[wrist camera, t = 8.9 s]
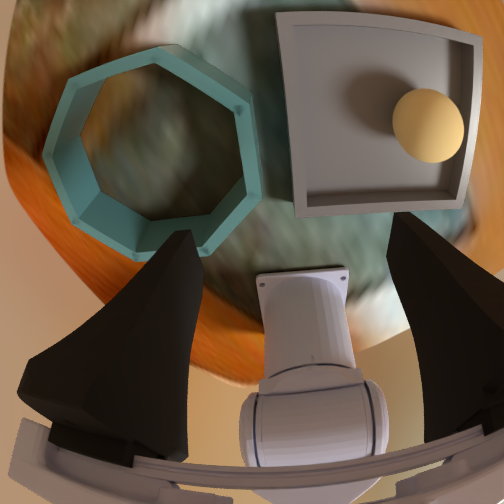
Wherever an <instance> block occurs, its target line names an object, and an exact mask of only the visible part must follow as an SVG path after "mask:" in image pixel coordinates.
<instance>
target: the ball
mask: <svg viewBox="0 0 504 504" xmlns="http://www.w3.org/2000/svg"><path fill="white" fill-rule="evenodd" d="M392 123H393V130H394V133H395V136H396V139H397V140H398V142H399V144H400V145H401V147H402V148H403V149H404V150H405V151H406V152H407V153H408V154H409V155H411V156H412V157H414V158H416V159H417V160H420V161H423V162H428V163H438V162H442V161H445V160H447V159H449V158H450V157H452V156H453V155H454V154H455V153H456V152H457V151H458V149H459V147H460V146H461V143H462V140H463V136H464V125H463V120H462V117H461V114H460V112H459V110H458V108H457V107H456V105H455V104H454V103H453V102H452V101H451V100H450V99H449V98H448V97H447V96H445V95H444V94H442V93H440V92H438V91H436V90H433V89H427V88H421V89H415V90H412V91H410V92H408V93H406V94H405V95H404V96H403V97H402V98H401V99H400V100H399V101H398V103H397V104H396V106H395V109H394V112H393V120H392Z"/></svg>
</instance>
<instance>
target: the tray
mask: <svg viewBox="0 0 504 504" xmlns="http://www.w3.org/2000/svg"><path fill="white" fill-rule="evenodd" d="M274 20H275V27H276V34H277V42H278V50H279V58H280V66H281V75H282V83H283V93H284V102H285V112H286V122H287V133H288V144H289V156H290V168H291V182H292V196H293V206H294V212H295V218H308V217H321V216H335V215H350V214H365V213H381V212H399V211H419V210H441V209H462V206H463V202H464V198H465V194H466V190H467V185H468V181H469V176H470V171H471V166H472V161H473V156H474V150H475V144H476V137H477V130H478V122H479V114H480V103H481V90H482V69H483V40H482V37H481V36H478V35H475V34H472V33H468V32H465V31H461V30H458V29H454V28H450V27H446V26H442V25H438V24H433V23H429V22H424V21H419V20H413V19H407V18H401V17H394V16H387V15H378V14H369V13H356V12H338V11H296V12H277V13H275V14H274ZM421 88H427V89H433V90H436V91H438V92H440V93H442V94H444V95H445V96H447V97H448V98H449V99H450V100H451V101H452V102H453V103H454V104H455V105H456V107H457V108H458V110H459V112H460V114H461V117H462V120H463V125H464V136H463V140H462V143H461V146H460V147H459V149H458V151H457V152H456V153H455V154H454V155H453V156H452V157H450V158H449V159H447V160H445V161H442V162H438V163H428V162H423V161H420V160H417V159H416V158H414V157H412V156H411V155H409V154H408V153H407V152H406V151H405V150H404V149H403V148H402V147H401V145H400V144H399V142H398V140H397V139H396V136H395V133H394V130H393V123H392V120H393V112H394V109H395V106H396V104H397V103H398V101H399V100H400V99H401V98H402V97H403V96H404V95H405V94H406V93H408V92H410V91H412V90H415V89H421Z"/></svg>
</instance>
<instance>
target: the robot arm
mask: <svg viewBox="0 0 504 504" xmlns="http://www.w3.org/2000/svg"><path fill="white" fill-rule="evenodd" d="M386 258H387V262H388V265H389V269H390V273H391V277H392V280H393V283H394V285H395V288H396V290H397V293H398V296H399V298H400V301H401V303H402V306H403V309H404V311H405V314H406V317H407V320H408V322H409V325H410V328H411V331H412V334H413V337H414V342H415V347H416V351H417V356H418V361H419V368H420V375H421V381H422V390H423V403H424V443H425V444H422V445H418V446H414V447H410V448H407V449H402V450H398V451H394V452H389V453H385V450H386V447H387V444H388V437H389V420H388V411H387V405H386V401H385V397H384V394H383V392H382V389H381V388H380V386H378V385H377V384H376V383H375V382H374V381H373V380H372V379H368V380H363V375H362V370H361V368H356V365H355V360H354V354H353V349H352V343H351V338H350V333H349V328H348V324H347V319H346V314H345V310H344V308H345V301H346V294H347V287H348V279H349V270H348V269H347V268H346V267H341V268H329V269H318V270H306V271H294V272H281V273H268V274H259V275H257V277H256V285H257V290H258V296H259V302H260V308H261V314H262V319H263V325H264V331H265V351H264V379H261V380H259V392H255V393H251V394H250V395H249V396H248V398H247V399H246V400H245V401H244V402H243V404H242V407H241V412H240V420H239V441H240V448H241V454H242V458H243V460H244V463H245V465H246V467H235V466H215V465H201V464H191V463H182V462H183V461H184V460H185V459H186V458H187V457H188V438H187V394H188V374H189V362H190V353H191V347H192V342H193V337H194V332H195V327H196V323H197V318H198V313H199V308H200V304H201V299H202V291H203V279H204V269H203V266H202V263H201V260H200V257H199V254H198V250H197V247H196V244H195V241H194V238H193V234H192V231H191V229H186V230H177V231H174V232H173V233H172V234H171V235H170V236H169V237H168V239H167V240H166V241H165V242H164V243H163V244H162V245H161V247H160V248H159V249H158V250H157V251H156V252H155V254H154V255H153V256H152V257H151V258H150V259H149V260H148V262H147V263H146V264H145V265H144V266H143V267H142V269H141V270H140V271H139V272H138V273H137V274H136V275H135V276H134V277H133V278H132V279H131V280H130V281H129V282H128V284H127V285H126V286H125V287H124V288H123V289H122V290H121V291H120V292H119V293H118V294H117V295H116V296H115V297H114V298H113V299H112V300H111V301H109V302H108V303H107V304H106V305H105V306H104V307H103V308H102V309H101V310H100V311H98V312H97V313H96V314H95V315H94V316H92V317H91V318H90V319H89V320H87V321H86V322H85V323H84V324H83V325H81V326H80V327H79V328H77V329H76V330H75V331H73V332H72V333H71V334H69V335H68V336H66V337H65V338H63V339H62V340H61V341H59V342H57V343H56V344H54V345H53V346H51V347H50V348H48V349H46V350H45V351H43V352H41V353H40V354H38V355H36V356H34V357H33V358H31V359H29V361H28V363H27V365H26V368H25V371H24V373H23V376H22V379H21V381H20V384H19V387H18V390H17V394H18V396H19V398H20V399H21V400H22V401H23V402H24V403H26V404H27V405H28V406H30V407H31V408H32V409H34V410H35V411H37V412H38V413H40V414H41V415H43V416H44V417H46V418H47V419H49V420H50V421H52V422H53V423H52V426H51V429H50V428H48V427H46V426H44V425H41V424H39V423H36V422H34V421H31V420H29V419H26V418H22V420H21V423H20V427H19V431H18V434H17V438H16V442H15V445H14V450H13V454H12V458H11V463H10V468H9V472H8V476H9V477H10V478H11V479H13V480H14V481H16V482H18V483H19V484H21V485H23V486H24V487H26V488H28V489H29V490H31V491H33V492H34V493H36V494H37V495H39V496H41V497H42V498H44V499H46V500H47V501H49V502H51V503H52V504H233V499H232V498H231V497H224V496H218V495H215V494H211V493H203V492H196V491H189V490H182V489H180V487H179V486H178V485H177V484H184V485H192V486H200V487H210V488H224V489H246V490H248V489H249V490H252V491H253V492H254V493H256V494H257V495H259V496H261V497H262V498H264V499H266V500H268V501H269V502H271V503H273V504H350V503H352V502H353V501H354V500H355V499H357V498H358V497H359V496H360V495H362V494H363V493H364V492H366V491H367V490H368V489H369V488H371V487H372V486H373V485H374V484H375V483H376V482H378V481H379V480H380V478H381V477H384V476H388V475H393V474H397V473H400V472H404V471H408V470H412V469H416V468H419V467H423V466H426V465H429V464H432V463H435V462H438V461H441V460H444V459H446V460H445V461H444V462H443V464H442V465H441V466H439V467H436V468H433V469H430V470H427V471H424V472H421V473H419V474H416V475H415V476H412V477H410V478H407V479H404V480H401V481H398V482H397V483H396V496H394V497H390V498H386V499H381V500H377V501H371V502H367V503H361V504H500V503H502V502H503V501H504V282H502V281H500V280H499V279H497V278H496V277H494V276H493V275H491V274H490V273H489V272H487V271H486V270H484V269H483V268H481V267H480V266H479V265H477V264H476V263H474V262H473V261H472V260H471V259H469V258H468V257H467V256H465V255H464V254H463V253H461V252H460V251H459V250H458V249H456V248H455V247H454V246H453V245H451V244H450V243H449V242H448V241H446V240H445V239H444V238H443V237H441V236H440V235H439V234H438V233H437V232H435V231H434V230H433V229H432V228H430V227H429V226H428V225H427V224H425V223H424V222H423V221H421V220H420V219H419V218H417V217H416V216H415V215H413V214H412V213H410V212H394V216H393V222H392V228H391V233H390V239H389V244H388V249H387V254H386ZM343 276H344V277H343ZM261 283H264V284H261ZM175 483H176V484H175Z"/></svg>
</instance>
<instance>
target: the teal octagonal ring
mask: <svg viewBox="0 0 504 504" xmlns="http://www.w3.org/2000/svg"><path fill="white" fill-rule="evenodd" d="M152 63H156V64H158V65H160V66H161V67H163V68H165V69H167V70H168V71H170V72H172V73H173V74H175V75H177V76H178V77H180V78H182V79H183V80H185V81H187V82H188V83H190V84H191V85H193V86H195V87H196V88H198V89H199V90H201V91H202V92H204V93H206V94H207V95H209V96H210V97H212V98H213V99H215V100H216V101H218V102H219V103H221V104H222V105H224V106H225V107H227V108H228V109H230V110H231V111H233V112H234V116H235V122H236V128H237V135H238V141H239V147H240V153H241V159H242V166H243V172H244V174H243V175H242V177H241V178H240V179H239V180H238V181H237V182H236V184H235V185H234V186H233V187H232V188H231V190H230V191H229V192H228V193H227V194H226V196H225V197H224V198H223V199H222V200H221V202H220V203H219V204H218V205H217V206H216V208H215V209H214V210H213V211H212V212H211V214H208V215H199V216H190V217H182V218H174V219H165V220H157V221H150V220H148V219H146V218H145V217H143V216H141V215H140V214H138V213H136V212H135V211H133V210H131V209H130V208H128V207H126V206H125V205H123V204H121V203H120V202H118V201H116V200H115V199H113V198H111V197H110V196H108V195H106V194H105V193H103V192H101V191H100V189H99V186H98V184H97V181H96V179H95V176H94V173H93V171H92V168H91V165H90V162H89V160H88V157H87V154H86V151H85V148H84V145H83V142H82V139H81V136H80V134H81V131H82V129H83V127H84V124H85V122H86V120H87V117H88V115H89V113H90V111H91V108H92V106H93V104H94V102H95V100H96V98H97V96H98V94H99V92H100V90H101V88H102V86H103V84H104V82H105V80H106V78H108V77H111V76H113V75H116V74H119V73H122V72H125V71H129V70H132V69H135V68H138V67H142V66H145V65H149V64H152ZM42 157H43V160H44V162H45V165H46V167H47V170H48V172H49V175H50V177H51V180H52V182H53V184H54V187H55V189H56V191H57V193H58V196H59V198H60V200H61V202H62V205H63V207H64V209H65V211H66V213H67V215H68V217H69V219H70V221H71V223H72V225H74V226H76V227H77V228H79V229H80V230H82V231H84V232H85V233H87V234H89V235H90V236H92V237H94V238H95V239H97V240H99V241H100V242H102V243H104V244H106V245H107V246H109V247H111V248H112V249H114V250H116V251H118V252H119V253H121V254H123V255H125V256H126V257H128V258H130V259H132V260H133V261H135V262H141V261H148V260H149V259H150V258H151V257H152V256H153V255H154V254H155V252H156V251H157V250H158V249H159V248H160V247H161V245H162V244H163V243H164V242H165V241H166V240H167V239H168V237H169V236H170V235H171V234H172V233H173V232H174V231H177V230H186V229H191V231H192V234H193V238H194V241H195V244H196V247H197V250H198V254H199V257H203V256H210V255H211V254H212V253H213V252H214V250H215V249H216V248H217V247H218V246H219V245H220V244H221V243H222V242H223V241H224V239H225V238H226V237H227V236H228V235H229V234H230V233H231V232H232V231H233V230H234V228H235V227H236V226H237V225H238V224H239V223H240V222H241V221H242V220H243V219H244V218H245V217H246V215H247V214H248V213H249V212H250V211H251V210H252V209H253V208H254V207H255V206H256V205H257V204H258V202H259V201H260V200H261V199H262V166H261V158H260V150H259V143H258V135H257V128H256V120H255V113H254V106H253V99H252V92H251V91H250V90H249V89H247V88H246V87H244V86H243V85H241V84H240V83H238V82H237V81H236V80H234V79H233V78H231V77H230V76H228V75H227V74H225V73H224V72H222V71H221V70H219V69H217V68H216V67H214V66H213V65H211V64H210V63H208V62H206V61H205V60H203V59H202V58H200V57H198V56H197V55H195V54H193V53H192V52H190V51H188V50H187V49H185V48H183V47H182V46H180V45H178V44H176V45H166V46H158V47H155V48H152V49H148V50H145V51H142V52H138V53H135V54H132V55H129V56H126V57H123V58H120V59H117V60H114V61H112V62H109V63H106V64H104V65H101V66H98V67H96V68H93V69H91V70H88V71H86V72H84V73H81V74H79V75H77V76H74V77H72V78H69V80H68V82H67V84H66V87H65V89H64V92H63V94H62V97H61V99H60V102H59V104H58V107H57V110H56V112H55V115H54V118H53V121H52V124H51V127H50V130H49V133H48V136H47V139H46V142H45V146H44V149H43V153H42Z"/></svg>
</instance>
